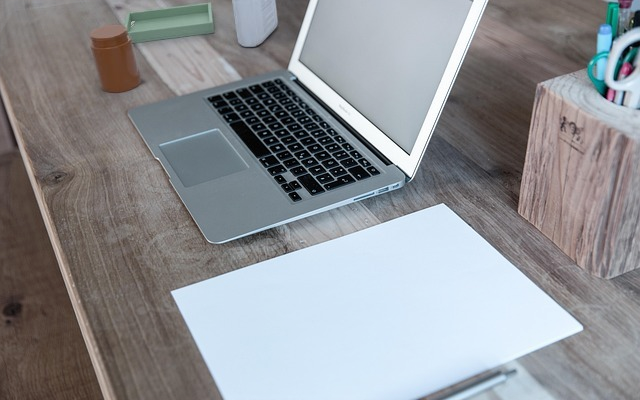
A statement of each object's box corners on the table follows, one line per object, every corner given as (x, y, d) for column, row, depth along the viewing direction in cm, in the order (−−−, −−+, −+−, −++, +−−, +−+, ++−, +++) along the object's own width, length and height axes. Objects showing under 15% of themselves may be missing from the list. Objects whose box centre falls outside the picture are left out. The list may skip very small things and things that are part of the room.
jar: (99, 95, 105) (85, 41, 100) (103, 78, 110) (89, 26, 105) (140, 89, 106) (127, 36, 101) (142, 72, 111) (129, 21, 106)
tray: (125, 44, 121) (122, 33, 120) (129, 22, 129) (126, 12, 128) (214, 32, 122) (212, 22, 121) (212, 12, 130) (211, 2, 129)
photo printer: (258, 23, 124) (249, -49, 117) (281, 25, 123) (273, -48, 116) (235, 47, 116) (223, -28, 109) (259, 49, 115) (249, -28, 108)
